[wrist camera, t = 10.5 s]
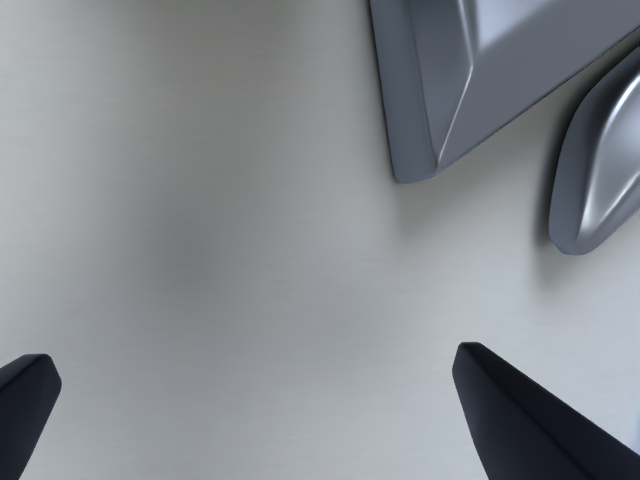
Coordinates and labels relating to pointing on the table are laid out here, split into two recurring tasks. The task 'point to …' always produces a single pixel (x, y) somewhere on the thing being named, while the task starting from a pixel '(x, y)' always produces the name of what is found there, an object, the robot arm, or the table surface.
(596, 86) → the emblem
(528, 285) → the table surface
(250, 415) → the table surface
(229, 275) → the table surface
